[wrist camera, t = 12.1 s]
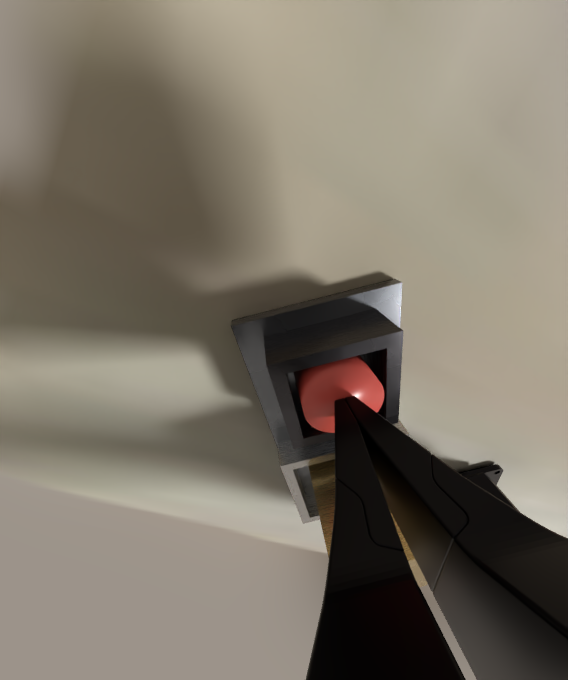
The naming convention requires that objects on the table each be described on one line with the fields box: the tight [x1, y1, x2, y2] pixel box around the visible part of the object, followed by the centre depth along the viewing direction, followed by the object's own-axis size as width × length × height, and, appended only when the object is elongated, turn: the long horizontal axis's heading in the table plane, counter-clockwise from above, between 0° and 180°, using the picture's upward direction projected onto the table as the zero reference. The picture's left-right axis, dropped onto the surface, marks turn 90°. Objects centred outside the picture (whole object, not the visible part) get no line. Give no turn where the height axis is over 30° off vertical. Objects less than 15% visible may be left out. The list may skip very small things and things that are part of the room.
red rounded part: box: [293, 355, 384, 433], centre depth 11 cm, size 3×3×3 cm
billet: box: [308, 459, 428, 587], centre depth 13 cm, size 4×4×6 cm
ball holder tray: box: [231, 279, 409, 524], centre depth 13 cm, size 16×8×3 cm, turn 12°
